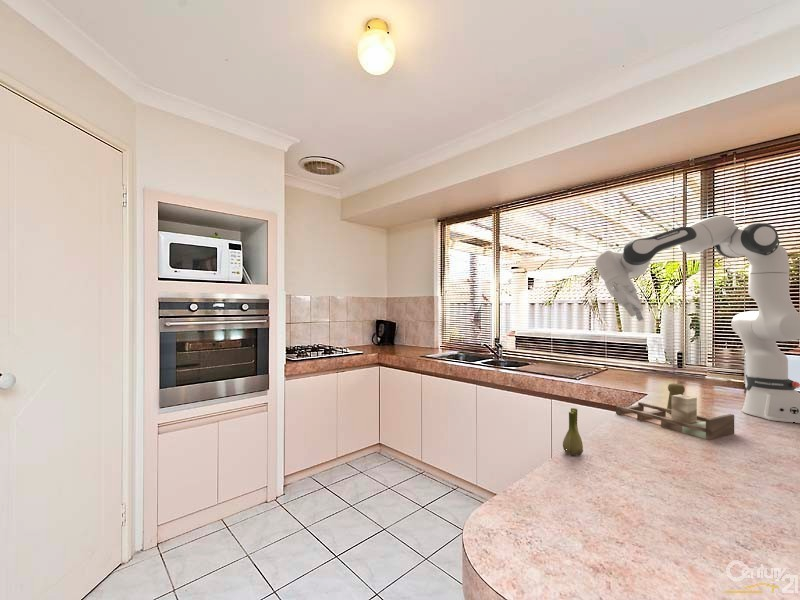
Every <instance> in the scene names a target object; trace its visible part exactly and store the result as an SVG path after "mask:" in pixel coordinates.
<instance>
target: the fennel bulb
mask: <svg viewBox="0 0 800 600" xmlns="http://www.w3.org/2000/svg"><path fill="white" fill-rule="evenodd" d="M579 432H580V431H579V429H578V408H576V407H575V408H574V407H573V408H570V411H569V412H568V430H567V432H566V434H565V435H564V438H563V441H562V448H563V451H564V450H565V451H564V452H565V453H566V454H568V455H570V456H580V455H582V454H583V452H584V445H583V440H582V437H581V435H580V433H579ZM566 449H567V450H566Z"/></svg>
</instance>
